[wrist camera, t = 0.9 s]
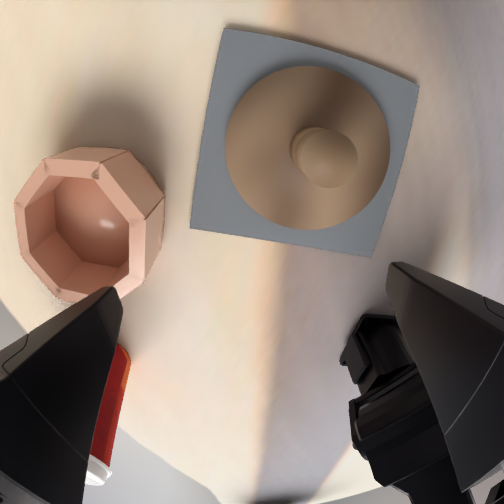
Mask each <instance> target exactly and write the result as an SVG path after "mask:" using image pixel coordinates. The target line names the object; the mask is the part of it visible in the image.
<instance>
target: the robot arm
mask: <svg viewBox="0 0 504 504" xmlns="http://www.w3.org/2000/svg"><path fill="white" fill-rule="evenodd" d="M386 291H387V294H388V297H389V300H390V302H391V305H392V308H393V311H394V313H395V316H396V317H394V316H380V315H368V314H367V315H363V316H362V317H361V319H360V321H359V323H358V325H357V327H356V329H355V331H354V333H353V335H352V336H351V338H350V340H349V342H348V344H347V346H346V348H345V350H344V351H343V354H342V356H341V358H340V360H339V361H340V364H341V365H342V366H347V367H348V369H349V372H350V375H351V378H352V381H353V383H354V384H357V385H358V387H359V390H360V393H361V396H360V397H358V398H356V399H352V400H350V401H349V416H350V426H351V437H352V441H353V448H354V449H355V450H358V451H359V453H360V454H361V456H362V457H363V458H364V459H365V460H367V461H369V463H370V466H371V469H372V473H373V476H374V479H375V480H376V481H377V482H378V483H380V484H381V485H382V486H384V487H386V486H389V485H390V486H392V487H394V488H395V489H397V490H399V491H400V492H402V493H404V494H406V495H407V496H408V497H409V498H410V501H411V503H412V504H476V503H475V500H474V497H473V495H472V492H471V490H470V488H472V487H473V486H475V485H477V484H479V483H480V482H482V481H484V480H486V479H487V478H489V477H491V476H492V475H493V474H495V473H497V472H498V471H500V470H501V469H503V471H504V305H503V304H500V303H498V302H496V301H494V300H491V299H489V298H487V297H485V296H482V295H480V294H478V293H476V292H473V291H471V290H469V289H466V288H464V287H462V286H459V285H457V284H455V283H452V282H450V281H448V280H445V279H443V278H441V277H438V276H436V275H434V274H431V273H429V272H426V271H424V270H421V269H419V268H416V267H414V266H412V265H409V264H407V263H404V262H392V263H391V264H390V265H389V268H388V274H387V281H386ZM122 316H123V307H122V304H121V301H120V298H119V295H118V293H117V290H116V288H115V287H114V286H104V287H102V288H100V289H98V290H97V291H95V292H93V293H92V294H90V295H88V296H87V297H85V298H83V299H82V300H80V301H78V302H77V303H75V304H74V305H72V306H70V307H69V308H67V309H65V310H64V311H62V312H61V313H59V314H57V315H56V316H54V317H53V318H51V319H49V320H48V321H46V322H45V323H43V324H42V325H40V326H38V327H37V328H35V329H34V330H32V331H31V332H29V334H26V335H25V336H23V337H21V338H20V339H18V340H17V341H15V342H14V343H12V344H10V345H9V346H7V347H5V348H4V349H2V350H1V351H0V504H82V500H83V493H84V486H85V480H86V474H87V468H88V462H87V461H89V456H90V451H91V445H92V441H93V436H94V431H95V427H96V422H97V418H98V414H99V409H100V405H101V401H102V397H103V393H104V390H105V386H106V382H107V378H108V375H109V371H110V368H111V364H112V361H113V357H114V354H115V350H116V345H117V340H118V335H119V330H120V325H121V320H122ZM366 319H367V320H366ZM365 320H366V321H365ZM485 504H504V480H502V481H501V482H499V483H498V484H497V485H495V486H494V487H492V488H491V490H490V492H489V495H488V498H487V500H486V503H485Z"/></svg>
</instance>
